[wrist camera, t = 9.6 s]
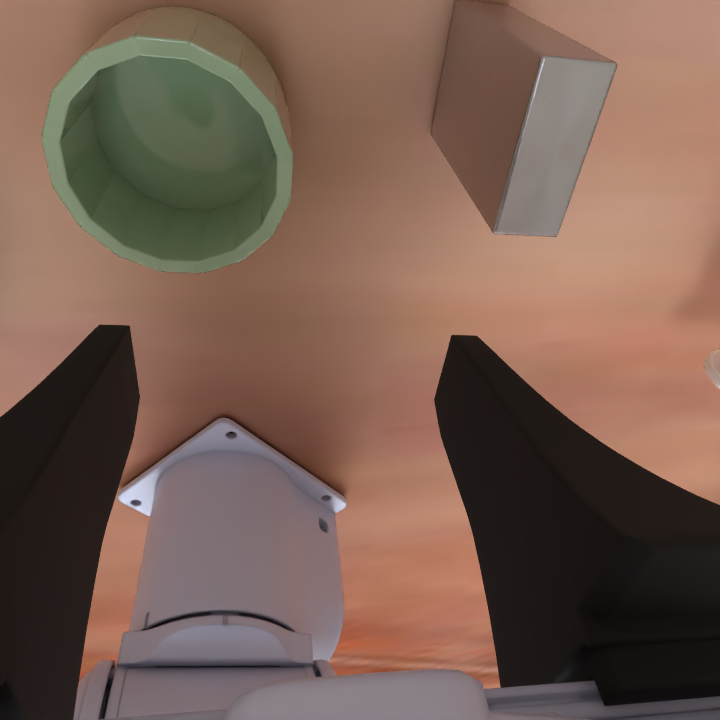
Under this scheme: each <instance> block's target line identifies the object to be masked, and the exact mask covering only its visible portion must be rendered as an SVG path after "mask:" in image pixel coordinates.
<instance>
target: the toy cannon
mask: <svg viewBox="0 0 720 720" xmlns="http://www.w3.org/2000/svg"><path fill="white" fill-rule="evenodd" d="M704 369H705V371H706V373H707V375H708V377H709V378H710V379H711V381H712V382H713V383H714V384H715V385H716V386H717V387H718V388H719V389H720V349H716V350H713V351H712V352H711V353H710V354H709V355H708V356H707V358H706V359H705V360H704Z"/></svg>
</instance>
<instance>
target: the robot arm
mask: <svg viewBox="0 0 720 720" xmlns="http://www.w3.org/2000/svg"><path fill="white" fill-rule="evenodd" d="M139 399H140V394H139V387H138V381H137V374H136V367H135V360H134V353H133V346H132V339H131V332H130V326H126V325H99V326H98V327H96V328H95V329H94V330H93V331H92V332H91V333H90V334H89V335H88V336H87V337H86V338H85V339H84V340H83V341H82V342H81V344H80V345H79V346H78V347H77V348H76V349H75V350H74V351H73V352H72V353H71V354H70V355H69V356H68V357H67V358H66V359H65V360H64V361H63V362H62V363H61V364H60V365H59V366H58V367H57V368H56V369H54V370H53V371H52V372H51V373H50V374H49V375H48V376H47V377H46V378H45V379H44V380H43V381H42V382H41V383H40V384H39V385H38V386H37V387H35V388H34V389H33V390H32V391H31V392H30V393H29V394H27V395H26V396H25V397H24V398H23V399H22V400H20V401H19V402H18V403H17V404H16V405H15V406H13V407H12V408H11V409H10V410H9V411H8V412H6V413H5V414H4V415H3V416H1V417H0V720H720V505H718V504H716V503H713V502H711V501H709V500H706V499H704V498H702V497H699V496H697V495H695V494H693V493H691V492H688V491H686V490H684V489H682V488H680V487H678V486H676V485H674V484H672V483H670V482H668V481H666V480H664V479H662V478H661V477H659V476H657V475H655V474H653V473H651V472H650V471H648V470H646V469H644V468H642V467H641V466H639V465H637V464H636V463H634V462H632V461H631V460H629V459H627V458H626V457H624V456H622V455H621V454H619V453H617V452H616V451H614V450H613V449H611V448H609V447H608V446H606V445H605V444H603V443H602V442H600V441H599V440H597V439H596V438H595V437H593V436H592V435H590V434H589V433H588V432H586V431H585V430H583V429H582V428H580V427H579V426H578V425H576V424H575V423H574V422H572V421H571V420H570V419H568V418H567V417H566V416H565V415H563V414H562V413H561V412H560V411H559V410H557V409H556V408H555V407H554V406H553V405H551V404H550V403H549V402H548V401H546V400H545V399H544V398H543V397H542V396H541V395H540V394H538V393H537V392H536V391H535V390H534V389H533V388H532V387H531V386H530V385H528V384H527V383H526V382H525V381H524V380H523V379H522V378H521V377H520V376H519V375H518V374H517V373H516V372H514V371H513V370H512V369H511V368H510V367H509V366H508V365H507V364H506V363H505V362H504V361H503V360H502V359H501V358H500V357H499V356H498V355H497V354H496V353H495V352H494V351H493V350H492V349H491V348H489V347H488V346H487V345H486V344H485V343H484V342H483V341H482V340H481V339H480V338H478V337H477V336H468V335H452V336H451V339H450V343H449V347H448V351H447V354H446V358H445V362H444V365H443V369H442V373H441V376H440V380H439V384H438V388H437V391H436V395H435V399H434V401H435V407H436V413H437V419H438V424H439V429H440V434H441V438H442V441H443V444H444V447H445V450H446V453H447V456H448V459H449V462H450V465H451V468H452V471H453V474H454V477H455V480H456V483H457V486H458V489H459V492H460V495H461V498H462V500H463V503H464V506H465V509H466V512H467V515H468V519H469V522H470V526H471V529H472V533H473V537H474V541H475V546H476V551H477V555H478V560H479V564H480V569H481V574H482V579H483V584H484V589H485V594H486V599H487V604H488V610H489V615H490V621H491V627H492V633H493V639H494V645H495V651H496V657H497V664H498V672H499V679H500V686H501V688H492V689H483V686H482V683H481V682H480V681H478V680H476V679H475V678H473V677H471V676H469V675H467V674H465V673H463V672H462V671H460V670H446V669H423V670H409V671H395V672H380V673H366V674H352V675H337V674H336V673H335V672H334V670H333V668H332V666H331V665H330V664H329V662H328V661H329V660H330V658H331V656H332V655H333V653H334V651H335V648H336V646H337V643H338V640H339V638H340V634H341V631H342V626H343V620H344V597H343V587H342V578H341V568H340V558H339V549H338V539H337V529H336V520H335V514H336V513H338V512H339V511H341V510H343V509H344V508H345V507H346V498H345V497H344V496H342V495H341V494H339V493H338V492H336V491H335V490H333V489H332V488H331V487H329V486H328V485H326V484H325V483H323V482H322V481H320V480H319V479H317V478H316V477H314V476H313V475H311V474H310V473H309V472H307V471H306V470H304V469H303V468H301V467H300V466H298V465H297V464H295V463H294V462H292V461H291V460H289V459H288V458H287V457H285V456H284V455H282V454H281V453H279V452H278V451H276V450H275V449H273V448H272V447H270V446H269V445H267V444H266V443H265V442H263V441H262V440H260V439H259V438H257V437H256V436H254V435H253V434H251V433H250V432H248V431H247V430H245V429H244V428H243V427H241V426H240V425H238V424H237V423H235V422H234V421H232V420H230V419H228V418H219V419H217V420H215V421H214V422H213V423H211V424H210V425H209V426H207V427H206V428H204V429H203V430H202V431H200V432H199V433H198V434H196V435H195V436H193V437H192V438H191V439H189V440H188V441H186V442H185V443H184V444H182V445H181V446H180V447H178V448H177V449H175V450H174V451H173V452H171V453H170V454H169V455H167V456H166V457H164V458H163V459H162V460H160V461H159V462H158V463H156V464H155V465H153V466H152V467H151V468H149V469H148V470H147V471H145V472H144V473H142V474H141V475H140V476H138V477H137V478H136V479H134V480H133V481H131V482H130V483H129V484H127V485H126V486H124V487H123V488H122V489H121V490H120V491H119V494H118V500H119V501H120V502H122V503H123V504H125V505H127V506H129V507H131V508H133V509H135V510H137V511H139V512H141V513H143V514H145V515H147V516H149V517H150V520H149V525H148V531H147V536H146V542H145V547H144V552H143V558H142V563H141V568H140V574H139V579H138V584H137V590H136V595H135V601H134V606H133V611H132V617H131V622H130V627H129V632H125V633H123V635H122V640H121V646H120V651H119V656H118V661H117V667H116V668H115V661H113V660H100V661H99V662H98V663H96V665H95V667H94V669H92V670H90V671H89V672H88V673H87V674H86V675H85V676H84V677H83V678H82V679H81V680H80V682H79V676H80V669H81V663H82V656H83V650H84V643H85V637H86V630H87V624H88V618H89V612H90V607H91V601H92V595H93V589H94V584H95V578H96V573H97V568H98V562H99V557H100V552H101V546H102V542H103V538H104V534H105V530H106V526H107V522H108V519H109V516H110V513H111V509H112V506H113V503H114V500H115V496H116V493H117V490H118V487H119V483H120V480H121V477H122V474H123V470H124V467H125V464H126V460H127V457H128V454H129V450H130V447H131V444H132V440H133V437H134V431H135V425H136V419H137V412H138V406H139ZM228 432H235V433H228ZM78 682H79V685H78Z"/></svg>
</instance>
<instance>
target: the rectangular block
mask: <svg viewBox="0 0 720 720" xmlns="http://www.w3.org/2000/svg"><path fill="white" fill-rule="evenodd" d="M616 69H617V63H616V62H614V61H612V60H611V59H609V58H607V57H605V56H603V55H601V54H599V53H597V52H595V51H594V50H592V49H590V48H588V47H586V46H584V45H582V44H580V43H578V42H577V41H575V40H573V39H571V38H569V37H567V36H565V35H563V34H562V33H560V32H558V31H556V30H554V29H552V28H550V27H548V26H546V25H545V24H543V23H541V22H539V21H537V20H535V19H533V18H531V17H529V16H528V15H526V14H524V13H522V12H520V11H518V10H516V9H514V8H513V7H511V6H509V5H503V4H495V3H486V2H478V1H469V0H456V1H455V5H454V11H453V16H452V22H451V27H450V32H449V38H448V43H447V49H446V54H445V60H444V65H443V70H442V76H441V81H440V87H439V92H438V98H437V103H436V108H435V114H434V119H433V125H432V130H431V136H432V138H433V139H434V141H435V142H436V144H437V145H438V147H439V149H440V150H441V152H442V153H443V155H444V157H445V158H446V160H447V161H448V163H449V164H450V166H451V168H452V169H453V171H454V172H455V174H456V175H457V177H458V179H459V180H460V182H461V183H462V185H463V187H464V188H465V190H466V191H467V193H468V194H469V196H470V198H471V199H472V201H473V202H474V204H475V205H476V207H477V209H478V210H479V212H480V213H481V215H482V217H483V218H484V220H485V221H486V223H487V224H488V226H489V228H490V229H491V231H492V232H493V233H494V234H506V235H526V236H546V237H556V236H557V235H558V233H559V230H560V227H561V225H562V222H563V219H564V216H565V213H566V210H567V208H568V205H569V202H570V199H571V196H572V193H573V191H574V188H575V185H576V182H577V179H578V176H579V174H580V171H581V168H582V165H583V162H584V159H585V157H586V154H587V151H588V148H589V145H590V142H591V139H592V137H593V134H594V131H595V128H596V125H597V122H598V120H599V117H600V114H601V111H602V108H603V105H604V103H605V100H606V97H607V94H608V91H609V88H610V86H611V83H612V80H613V77H614V74H615V71H616Z"/></svg>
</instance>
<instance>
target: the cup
mask: <svg viewBox="0 0 720 720" xmlns="http://www.w3.org/2000/svg"><path fill="white" fill-rule="evenodd" d="M42 143H43V147H44V152H45V156H46V161H47V166H48V170H49V175H50V179H51V183H52V185H53V188H54V189H55V191H56V192H57V194H58V195H59V197H60V198H61V200H62V201H63V203H64V204H65V206H66V207H67V209H68V210H69V212H70V213H71V215H72V216H73V218H74V219H75V221H76V222H77V224H78V225H80V227H81V228H82V229H83V230H85V231H86V232H87V233H88V234H90V235H91V236H92V237H94V238H95V239H96V240H97V241H99V242H100V243H101V244H103V245H104V246H105V247H106V248H108V249H109V250H110V251H112V252H113V253H114V254H115V255H118V256H119V257H122V258H124V259H127V260H130V261H133V262H135V263H138V264H141V265H143V266H146V267H149V268H152V269H154V270H157V271H160V270H161V272H183V273H203V272H204V273H206V272H209V271H212V270H215V269H218V268H222V267H225V266H228V265H231V264H234V263H237V262H240V261H242V260H244V259H245V258H246V257H248V256H249V255H250V254H251V253H252V252H254V251H255V250H256V249H257V248H259V247H260V246H261V245H262V244H263V243H265V242H266V241H267V240H268V239H269V238H271V237H272V235H273V234H274V233H275V231H276V229H277V227H278V225H279V223H280V221H281V219H282V217H283V215H284V213H285V211H286V209H287V207H288V204H289V202H290V200H291V196H292V173H293V148H292V137H291V125H290V116H289V111H288V109H287V104H286V99H285V95H284V92H283V88H282V86H281V83H280V81H279V79H278V76H277V74H276V72H275V70H274V69H273V67H272V65H271V63H270V62H269V60H268V59H267V58H266V56H265V55H264V54H263V52H262V51H261V50H260V49H259V47H258V46H257V45H256V44H255V43H254V42H253V41H252V40H251V39H250V38H249V37H248V36H246V35H245V34H244V33H243V32H242V31H240V30H239V29H238V28H236V27H235V26H233V25H231V24H230V23H228V22H227V21H225V20H223V19H221V18H219V17H217V16H215V15H212V14H210V13H207V12H203V11H200V10H197V9H191V8H186V7H170V6H167V7H159V8H152V9H149V10H145V11H141V12H139V13H136V14H134V15H132V16H130V17H128V18H126V19H125V20H123V21H122V22H120V23H118V24H115V25H114V26H112V27H111V28H110V29H109V30H108V31H107V32H106V33H105V34H104V35H103V36H102V37H101V38H100V39H99V40H98V41H97V42H96V43H95V44H93V45H92V46H91V47H90V48H89V49H88V50H87V51H86V52H85V53H84V54H83V55H82V56H81V57H80V58H79V60H78V61H77V62H76V63H75V64H74V65H73V66H72V67H71V69H70V70H69V71H68V72H67V73H66V74H65V75H64V76H63V78H62V79H61V80H60V81H59V82H58V83H57V84H56V86H55V87H54V88H53V90H52V92H51V96H50V100H49V105H48V109H47V113H46V118H45V122H44V127H43V131H42Z"/></svg>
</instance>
